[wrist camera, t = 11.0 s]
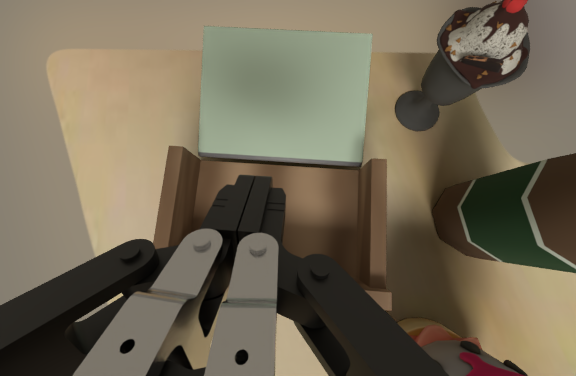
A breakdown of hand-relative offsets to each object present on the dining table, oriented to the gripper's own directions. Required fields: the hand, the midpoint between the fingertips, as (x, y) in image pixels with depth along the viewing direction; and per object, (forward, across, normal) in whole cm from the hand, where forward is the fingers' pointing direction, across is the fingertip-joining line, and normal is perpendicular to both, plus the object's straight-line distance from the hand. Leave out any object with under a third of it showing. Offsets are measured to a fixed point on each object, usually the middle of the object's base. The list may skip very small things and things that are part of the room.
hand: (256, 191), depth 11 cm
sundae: (+20, -15, +2) cm, 25 cm away
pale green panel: (+12, 0, +5) cm, 13 cm away
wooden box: (+10, 0, +11) cm, 15 cm away
